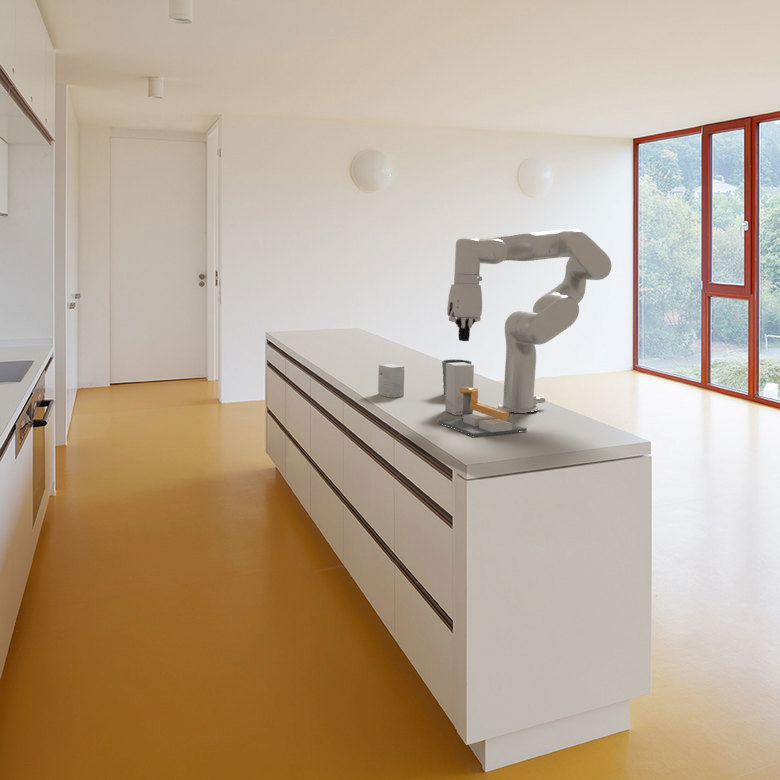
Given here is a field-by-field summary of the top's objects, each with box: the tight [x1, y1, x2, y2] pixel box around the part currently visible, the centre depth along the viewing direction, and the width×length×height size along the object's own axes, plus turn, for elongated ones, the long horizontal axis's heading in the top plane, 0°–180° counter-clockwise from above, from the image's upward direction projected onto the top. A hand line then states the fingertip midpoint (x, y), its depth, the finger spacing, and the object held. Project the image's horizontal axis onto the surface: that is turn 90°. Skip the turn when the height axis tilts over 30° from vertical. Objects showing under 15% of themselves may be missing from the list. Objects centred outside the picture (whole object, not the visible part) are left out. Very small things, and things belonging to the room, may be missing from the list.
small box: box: [377, 363, 405, 399], centre depth 267 cm, size 8×6×10 cm
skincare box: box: [444, 362, 475, 416], centre depth 241 cm, size 8×7×16 cm
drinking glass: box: [441, 359, 472, 396], centre depth 271 cm, size 10×10×12 cm
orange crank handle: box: [460, 386, 510, 421], centre depth 221 cm, size 21×5×6 cm, turn 29°
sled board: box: [438, 394, 527, 438], centre depth 222 cm, size 18×18×8 cm
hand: (463, 340), depth 237 cm, fingers closed
